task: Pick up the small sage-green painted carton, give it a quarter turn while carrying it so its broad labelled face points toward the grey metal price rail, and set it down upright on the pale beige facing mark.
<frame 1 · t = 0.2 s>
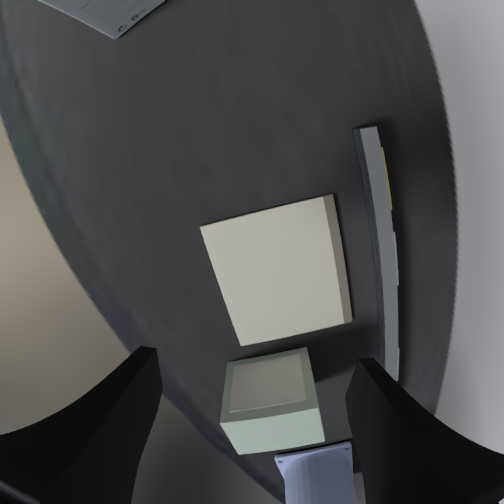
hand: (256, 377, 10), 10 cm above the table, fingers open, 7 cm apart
facing mark: (282, 277, 20), on the table
price rail: (383, 292, 20), on the table
sage carton: (272, 373, 23), on the table
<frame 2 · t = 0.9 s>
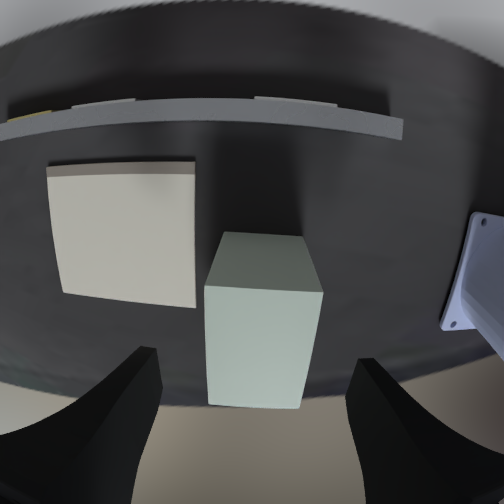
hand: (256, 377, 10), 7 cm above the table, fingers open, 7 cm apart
facing mark: (116, 235, 16), on the table
price rail: (167, 112, 14), on the table
sage carton: (259, 286, 17), on the table
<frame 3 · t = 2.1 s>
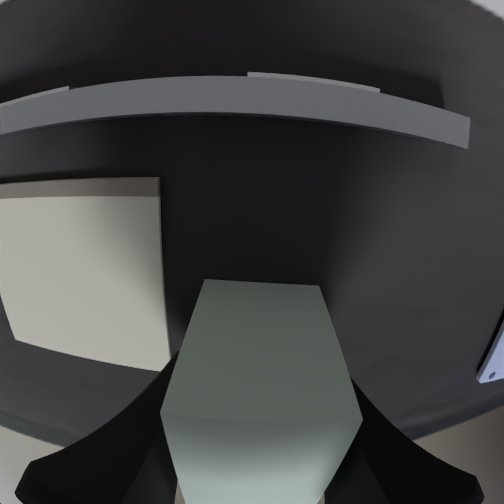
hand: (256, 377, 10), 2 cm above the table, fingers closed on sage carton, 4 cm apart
facing mark: (63, 277, 11), on the table
price rail: (119, 104, 9), on the table
sage carton: (256, 350, 12), on the table, touching gripper
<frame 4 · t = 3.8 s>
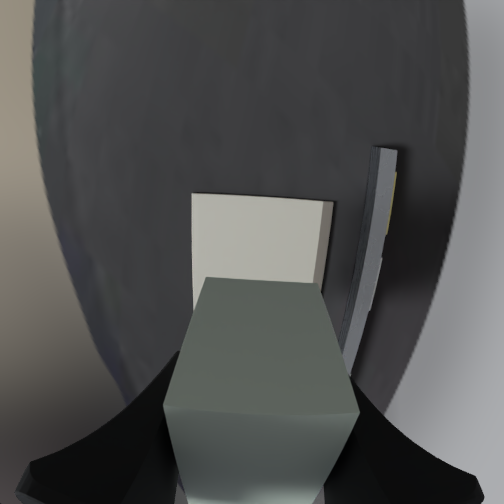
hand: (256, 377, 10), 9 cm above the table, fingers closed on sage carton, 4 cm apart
facing mark: (258, 269, 19), on the table
price rail: (351, 315, 20), on the table
sage carton: (256, 346, 12), point 7 cm above the table, touching gripper
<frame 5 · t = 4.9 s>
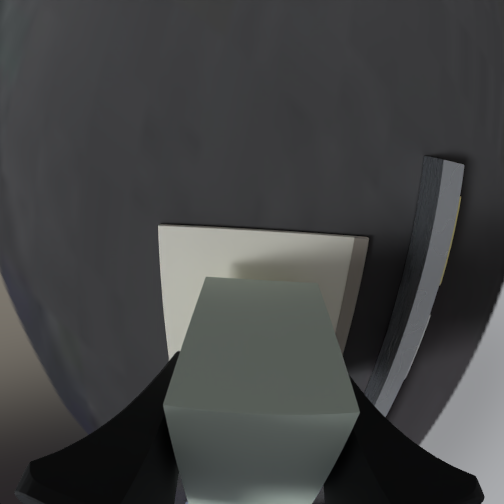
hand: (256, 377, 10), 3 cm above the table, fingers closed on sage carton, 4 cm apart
facing mark: (257, 330, 13), on the table
price rail: (378, 378, 14), on the table
sage carton: (256, 346, 12), point 1 cm above the table, touching gripper
when the fingers open (3 cm above the table, at t = 5.8 s): sage carton stays where it is, resting on facing mark.
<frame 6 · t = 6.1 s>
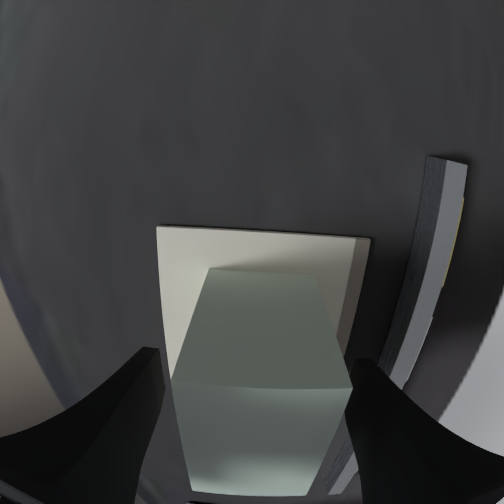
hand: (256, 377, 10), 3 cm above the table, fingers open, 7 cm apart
facing mark: (257, 332, 13), on the table
price rail: (379, 380, 14), on the table
sage carton: (257, 335, 13), resting on facing mark
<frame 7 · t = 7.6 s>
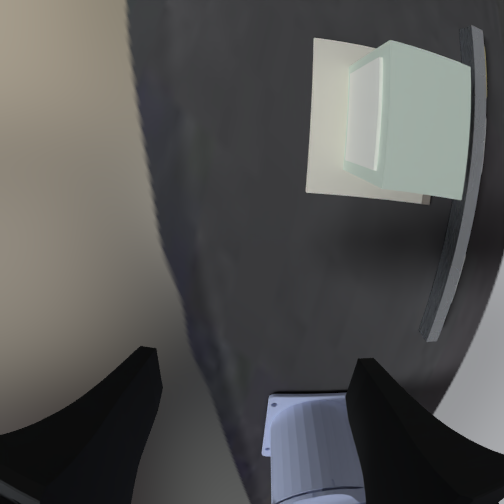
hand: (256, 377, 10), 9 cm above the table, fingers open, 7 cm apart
facing mark: (378, 122, 16), on the table
price rail: (460, 186, 17), on the table
sage carton: (379, 122, 16), resting on facing mark
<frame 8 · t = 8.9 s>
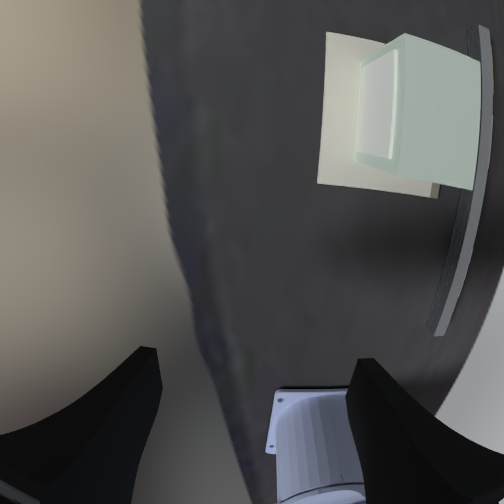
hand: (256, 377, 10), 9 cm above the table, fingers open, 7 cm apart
facing mark: (389, 115, 16), on the table
price rail: (467, 181, 17), on the table
sage carton: (390, 116, 15), resting on facing mark
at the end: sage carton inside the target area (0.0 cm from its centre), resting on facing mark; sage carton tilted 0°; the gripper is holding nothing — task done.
